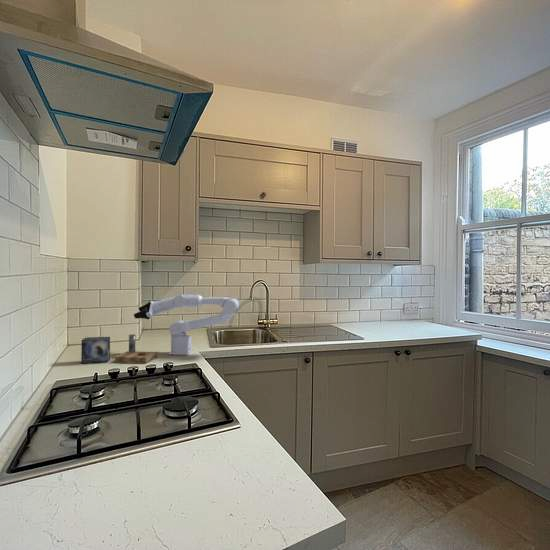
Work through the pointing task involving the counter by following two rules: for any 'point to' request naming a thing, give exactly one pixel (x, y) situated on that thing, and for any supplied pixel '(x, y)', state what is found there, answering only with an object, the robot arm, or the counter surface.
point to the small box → (95, 350)
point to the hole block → (135, 357)
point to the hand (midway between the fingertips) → (137, 313)
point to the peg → (132, 342)
